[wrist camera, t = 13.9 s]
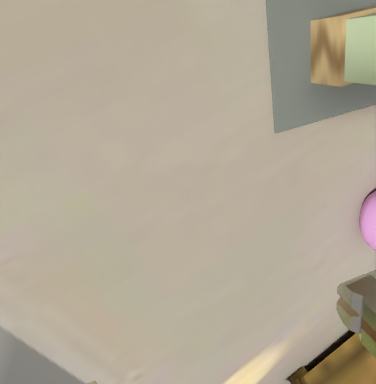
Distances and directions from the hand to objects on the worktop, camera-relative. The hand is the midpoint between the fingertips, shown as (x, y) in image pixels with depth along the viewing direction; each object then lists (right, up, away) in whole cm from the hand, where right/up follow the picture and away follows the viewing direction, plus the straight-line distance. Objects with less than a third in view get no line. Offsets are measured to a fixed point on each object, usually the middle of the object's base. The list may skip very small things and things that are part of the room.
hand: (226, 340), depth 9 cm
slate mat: (+20, +25, +33) cm, 46 cm away
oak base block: (+20, +25, +33) cm, 46 cm away
